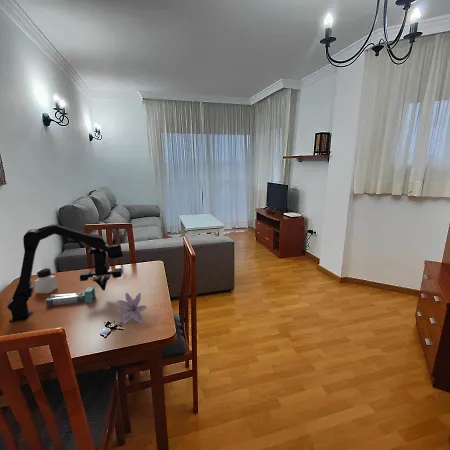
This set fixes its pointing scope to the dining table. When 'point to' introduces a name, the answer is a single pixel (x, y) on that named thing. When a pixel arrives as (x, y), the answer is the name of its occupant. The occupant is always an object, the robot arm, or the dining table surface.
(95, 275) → the robot arm
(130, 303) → the purple flower
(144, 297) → the dining table surface
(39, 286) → the medicine bottle
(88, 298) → the teal notched block
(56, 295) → the tong arm
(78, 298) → the tong frame
